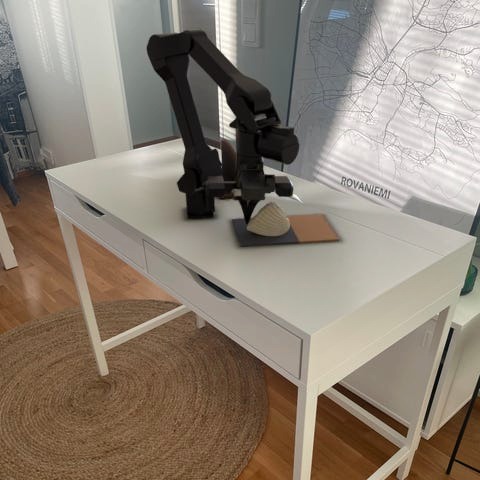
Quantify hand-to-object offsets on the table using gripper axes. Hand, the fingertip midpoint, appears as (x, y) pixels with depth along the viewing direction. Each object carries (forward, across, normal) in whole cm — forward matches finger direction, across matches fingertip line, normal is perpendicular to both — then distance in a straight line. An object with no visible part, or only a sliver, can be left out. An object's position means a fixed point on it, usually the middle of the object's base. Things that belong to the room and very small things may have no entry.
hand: (246, 223), depth 110 cm
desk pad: (+2, +9, 0) cm, 9 cm away
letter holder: (+2, 0, +32) cm, 32 cm away
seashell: (+2, +5, 0) cm, 6 cm away
